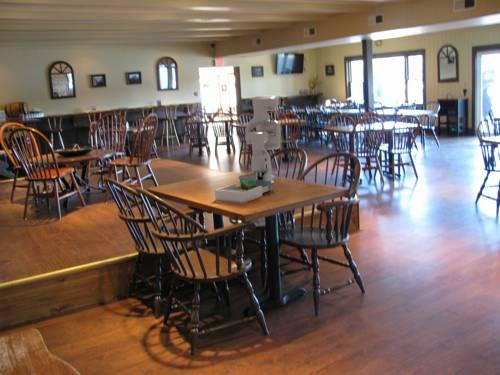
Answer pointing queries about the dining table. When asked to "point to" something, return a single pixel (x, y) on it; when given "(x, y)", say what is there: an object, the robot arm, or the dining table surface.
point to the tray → (264, 183)
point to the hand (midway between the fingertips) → (260, 182)
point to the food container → (248, 181)
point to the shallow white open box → (237, 194)
